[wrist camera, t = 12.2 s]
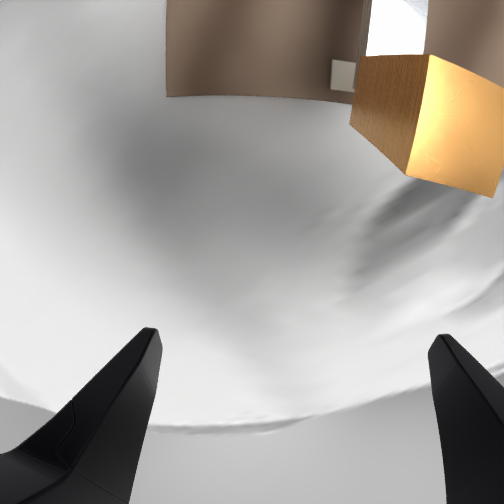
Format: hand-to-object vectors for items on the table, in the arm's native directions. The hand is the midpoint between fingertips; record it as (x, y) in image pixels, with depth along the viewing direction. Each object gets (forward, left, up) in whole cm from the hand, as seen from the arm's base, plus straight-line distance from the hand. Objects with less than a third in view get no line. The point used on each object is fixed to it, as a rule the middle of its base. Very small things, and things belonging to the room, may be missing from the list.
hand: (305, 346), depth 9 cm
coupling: (+3, +13, -7) cm, 15 cm away
